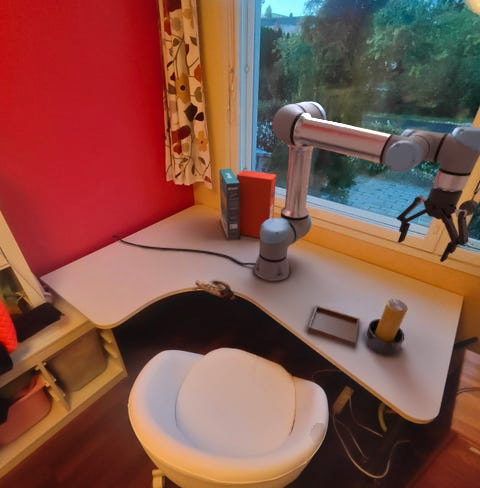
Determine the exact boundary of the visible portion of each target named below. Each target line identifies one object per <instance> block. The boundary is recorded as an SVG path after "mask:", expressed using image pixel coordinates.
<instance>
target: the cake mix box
mask: <svg viewBox="0 0 480 488" xmlns="http://www.w3.org/2000/svg"><path fill="white" fill-rule="evenodd" d="M218 171H219V173H218V174H219V192H220V193H219V197H220V200H219V201H220V221H221V225H222V227H223V231H224V233H225V236H226V239H227V240H239V239H240V234H239V181H238V180H237V175H236V174H235V173H234V171H233V170H232V168H220V169H219V170H218Z"/></svg>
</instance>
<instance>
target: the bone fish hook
mask: <svg viewBox="0 0 480 488" xmlns="http://www.w3.org/2000/svg"><path fill="white" fill-rule="evenodd" d="M212 282H213V283H214V284H218V285H221V286H222V287H224V289H221V288H220V287H218V286H215V285H213V284H210V283H207V282H204V281H201V280H198V279H197V280H196V281H195V285H196V286H197V287H198V288H199V289H201V290H202V291H203V292H206V293H209V294H211V295H213V296H216V297H219V298H221V299H225V300H229V301H234V300H236V297H235V294H234V293H235V292H234V291H233V290H232V289H231V286H230V285H229V284H228V283H227V282H225V281H223V280H214V281H212Z"/></svg>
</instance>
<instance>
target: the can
mask: <svg viewBox="0 0 480 488" xmlns="http://www.w3.org/2000/svg"><path fill="white" fill-rule="evenodd" d="M408 310H409V309H408V306H407V304H406V303H405V302H403V301H402V300H400V299H396V298H392V299H388V300H387V301H386V304H385V306H384V309H383V311H382V314H381V316H380V318H379V319H380V321H379V324H378V326H377V329H376V331H375V334H374V335H375V336H376V337H377V338H379V339H380V340H382V341H385V342H388V343H392V342H393V340H394V338H395V336H396V334H397V332H398V329H399V327H400V328H401V325H402V323H403V320H404V318H405V316H406V314H407V312H408Z"/></svg>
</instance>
